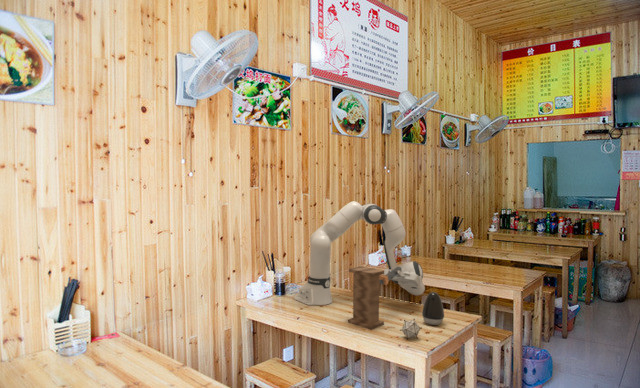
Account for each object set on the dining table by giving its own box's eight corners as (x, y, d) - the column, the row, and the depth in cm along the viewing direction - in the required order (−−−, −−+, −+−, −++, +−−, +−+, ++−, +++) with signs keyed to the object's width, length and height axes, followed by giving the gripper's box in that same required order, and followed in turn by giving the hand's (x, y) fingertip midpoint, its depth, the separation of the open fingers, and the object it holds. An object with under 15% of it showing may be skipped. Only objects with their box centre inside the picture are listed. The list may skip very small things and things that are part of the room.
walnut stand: (347, 322, 207) (348, 269, 206) (360, 317, 215) (361, 265, 214) (371, 330, 198) (372, 273, 197) (383, 324, 205) (384, 270, 204)
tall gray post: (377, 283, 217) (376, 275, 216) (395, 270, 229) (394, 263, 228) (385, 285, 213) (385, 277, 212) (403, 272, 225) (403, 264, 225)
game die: (414, 347, 188) (422, 334, 181) (395, 339, 189) (403, 326, 183) (418, 332, 194) (425, 318, 188) (400, 323, 196) (407, 310, 190)
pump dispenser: (420, 325, 205) (421, 293, 204) (423, 318, 215) (424, 288, 214) (443, 328, 201) (443, 296, 201) (444, 321, 211) (445, 290, 210)
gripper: (391, 271, 241) (379, 262, 231) (424, 277, 227) (413, 268, 218) (388, 282, 238) (376, 273, 229) (421, 289, 225) (410, 280, 216)
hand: (394, 271), depth 223 cm, fingers closed on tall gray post, 2 cm apart
